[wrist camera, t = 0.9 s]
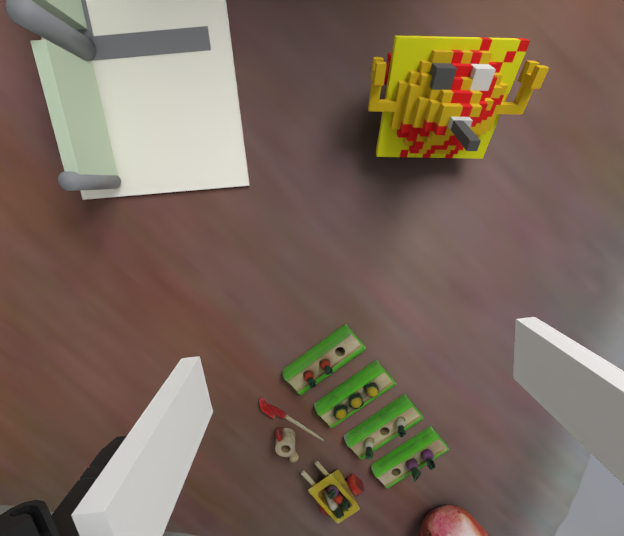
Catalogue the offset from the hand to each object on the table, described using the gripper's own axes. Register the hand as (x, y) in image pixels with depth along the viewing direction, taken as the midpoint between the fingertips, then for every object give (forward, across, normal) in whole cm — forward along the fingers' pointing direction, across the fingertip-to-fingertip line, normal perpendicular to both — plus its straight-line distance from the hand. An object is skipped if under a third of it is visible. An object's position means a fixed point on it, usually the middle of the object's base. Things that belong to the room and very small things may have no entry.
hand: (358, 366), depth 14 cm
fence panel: (+24, -21, +15) cm, 35 cm away
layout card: (+25, -16, +20) cm, 36 cm away
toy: (+25, +12, +13) cm, 31 cm away
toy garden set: (+25, -1, -24) cm, 35 cm away
